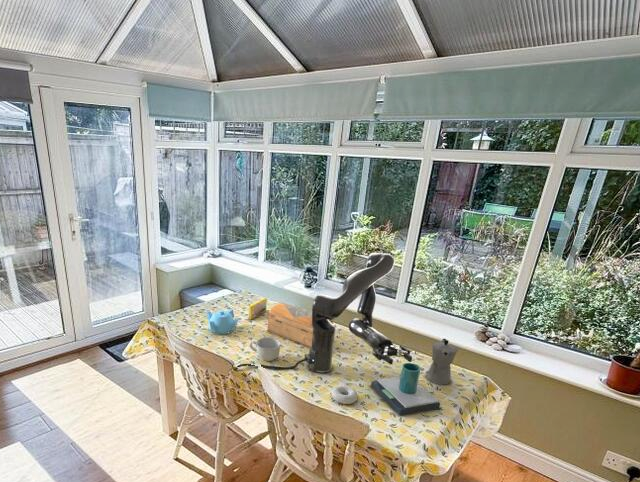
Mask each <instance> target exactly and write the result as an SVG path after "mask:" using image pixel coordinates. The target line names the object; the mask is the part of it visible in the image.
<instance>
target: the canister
mask: <svg viewBox="0 0 640 482" xmlns="http://www.w3.org/2000/svg"><path fill="white" fill-rule="evenodd" d="M421 368H422V367H421V366H419V365H418V364H416V363H412V362H405V363H402V366H401V373H400V376H401V377H400V382H399V390H400V391H401V392H403V393H406V394H414V393H416V390H417V385H418V384H419V379H420V374H421V370H422V369H421Z"/></svg>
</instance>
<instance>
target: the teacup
mask: <svg viewBox="0 0 640 482" xmlns="http://www.w3.org/2000/svg"><path fill="white" fill-rule="evenodd" d="M253 344H254V345H255V347H256V348H255V347H254V346H253ZM249 349H251V350H252V351H253V352H254V353H255V354H256V355H257V357H258V358H259V359H260V360H262V361H264V362H271V361H274V360H276V359H277V358H279V355H280V351H281V341H280V340H278V339H277V338H274V337H271V336H270V337H269V336H266V337H261V338H259V339H257V341H256V340H251V341H250V342H249Z"/></svg>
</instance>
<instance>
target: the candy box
mask: <svg viewBox="0 0 640 482" xmlns="http://www.w3.org/2000/svg"><path fill="white" fill-rule="evenodd" d="M267 300H268V298H267V297H263V298H261V299H259V300H257V301H256V302H253V303H251V304H249V305H248V320H250V321H252V320H253V319H255V318H256V317H259V316H261V315H262V314H263V313H265V312H266V311H267V302H268V301H267Z"/></svg>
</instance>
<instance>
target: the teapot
mask: <svg viewBox="0 0 640 482" xmlns="http://www.w3.org/2000/svg"><path fill="white" fill-rule="evenodd" d="M205 313H206V317H207V318H206V319H207V321H208V329H209V331H211V333H213V334H216V335H220V336H221V335H223V336H224V335H228V334H231V333H232V332H233V331H234V330H235V329H236V326H237V324H238V321H239V318H238V317H235V314H234V310H233V309H231V308H230V309H229V308H228V309H227V310H224V309H221V310H218V311H216V312H214V313H213V314H212V313H211V311H210V310H206V311H205ZM214 332H215V333H214ZM228 332H229V333H228Z"/></svg>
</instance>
